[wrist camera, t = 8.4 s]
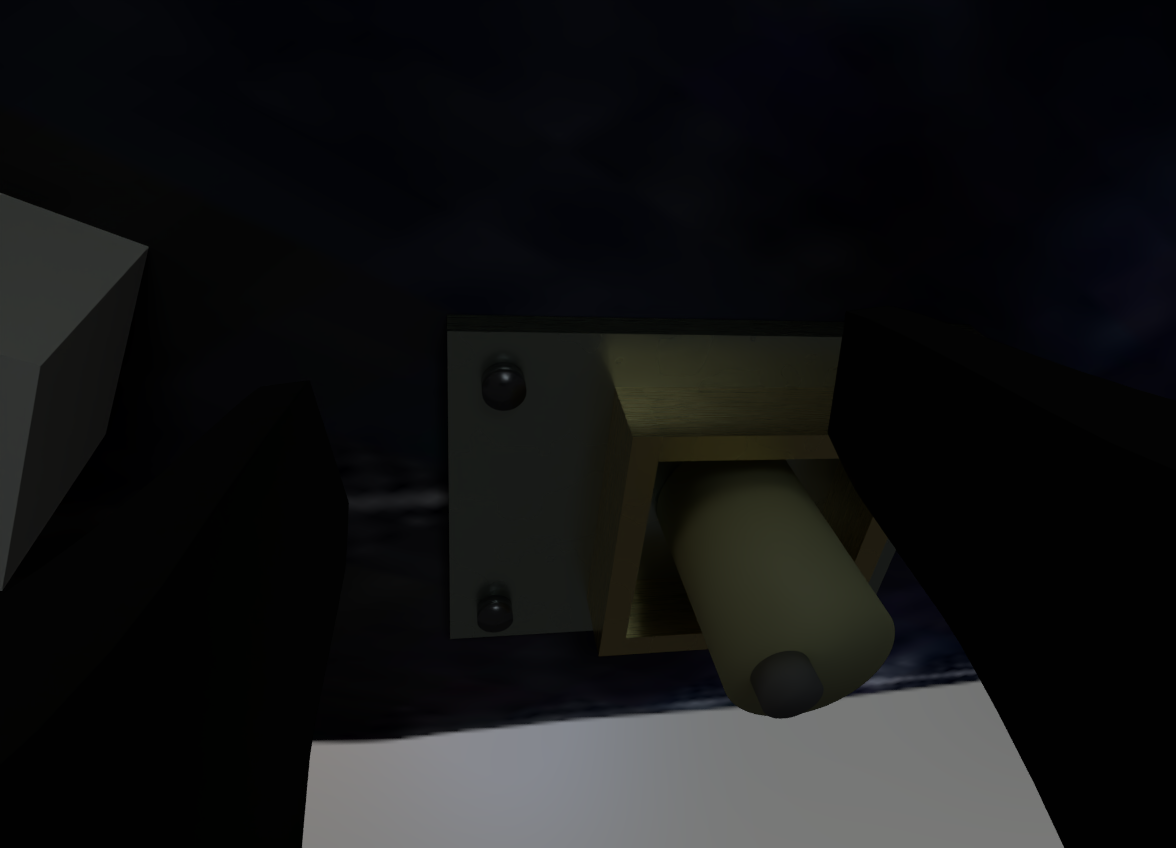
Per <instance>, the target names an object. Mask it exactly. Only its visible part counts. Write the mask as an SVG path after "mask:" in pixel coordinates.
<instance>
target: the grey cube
mask: <svg viewBox="0 0 1176 848" xmlns="http://www.w3.org/2000/svg"><path fill="white" fill-rule="evenodd" d="M148 248H149V247H148V246H145V245H142V244H139V243H137V242H134V241H131V240H128V239H126V238H123V237H120V236H117V235H115V234H112V233H109V232H106V231H104V230H101V229H98V228H95V227H93V226H90V225H87V224H84V223H82V222H79V221H76V220H73V219H70V218H68V217H65V216H62V215H59V214H57V213H54V212H51V211H48V210H46V209H43V208H40V207H37V206H35V205H32V204H29V203H26V202H24V201H21V200H18V199H15V198H13V197H10V196H7V195H4V194H2V193H0V591H2V590H3V589H4V587H5V586H6V584H7V583H8V581H9V579H10V578H11V576H12V575H13V573H14V572H15V570H16V569H17V567H18V566H19V564H20V563H21V561H22V560H23V558H24V557H25V555H26V554H27V552H28V551H29V549H30V548H31V546H32V545H33V543H34V542H35V540H36V539H37V537H38V536H39V534H40V533H41V531H42V530H43V528H44V527H45V525H46V524H47V522H48V521H49V519H50V518H51V516H52V515H53V513H54V512H55V510H56V509H57V507H58V505H59V504H60V502H61V501H62V499H63V498H64V496H65V495H66V493H67V492H68V490H69V489H70V487H71V486H72V484H73V483H74V481H75V480H76V478H77V477H78V475H79V474H80V472H81V471H82V469H83V468H84V466H85V465H86V463H87V462H88V460H89V459H90V457H91V456H92V454H93V453H94V451H95V450H96V448H97V447H98V445H99V444H100V442H101V441H102V439H103V438H104V436H105V435H106V431H107V426H108V422H109V418H110V413H111V409H112V405H113V400H114V396H115V391H116V387H117V383H118V378H119V374H120V370H121V365H122V361H123V357H124V352H125V348H126V344H127V339H128V335H129V331H130V326H131V322H132V318H133V313H134V309H135V305H136V300H137V296H138V292H139V287H140V283H141V279H142V274H143V270H144V266H145V261H146V257H147V253H148Z"/></svg>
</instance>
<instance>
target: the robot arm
mask: <svg viewBox="0 0 1176 848" xmlns="http://www.w3.org/2000/svg"><path fill="white" fill-rule="evenodd" d="M827 433H828V436H829V438H830V440H831V442H832V444H833V446H834V448H835V451H836V453H837V455H838V457H839V459H840V461H841V464H842V466H843V467H844V469H845V471H846V473H847V475H848V477H849V479H850V481H851V483H852V485H853V487H854V489H855V491H856V492H857V494H858V495H859V497H860V498H861V500H862V501H863V503H864V504H865V506H866V507H867V508H868V510H869V511H870V513H871V514H872V516H873V517H874V519H875V520H876V522H877V523H878V524H879V526H880V527H881V529H882V530H883V532H884V533H885V535H886V536H887V538H888V539H889V540H890V542H891V543H892V545H893V546H894V547H895V549H896V550H897V552H898V553H899V555H900V556H901V557H902V559H903V560H904V562H905V563H906V565H907V566H908V567H909V569H910V570H911V572H912V573H913V574H914V576H915V577H916V579H917V580H918V582H919V583H920V584H921V586H922V587H923V589H924V590H925V592H926V593H927V594H928V596H929V597H930V599H931V600H932V602H933V603H934V604H935V606H936V607H937V609H938V610H939V611H940V613H941V614H942V616H943V618H944V619H945V621H946V622H947V624H948V625H949V627H950V628H951V630H952V632H953V633H954V635H955V636H956V638H957V639H958V641H959V643H960V644H961V646H962V648H963V650H964V651H965V653H966V655H967V657H968V659H969V661H970V662H971V664H972V666H973V668H974V670H975V671H976V673H977V675H978V677H979V679H980V681H981V682H982V684H983V686H984V688H985V690H986V691H987V693H988V695H989V697H990V699H991V701H992V702H993V704H994V706H995V708H996V710H997V712H998V714H999V715H1000V717H1001V719H1002V721H1003V723H1004V725H1005V727H1006V729H1007V731H1008V733H1009V735H1010V737H1011V739H1012V741H1013V743H1014V745H1015V747H1016V749H1017V751H1018V753H1019V755H1020V756H1021V759H1022V761H1023V762H1024V764H1025V766H1026V768H1027V770H1028V772H1029V774H1030V776H1031V778H1032V780H1033V782H1034V784H1035V786H1036V788H1037V790H1038V792H1039V795H1040V797H1041V799H1042V801H1043V803H1044V805H1045V808H1046V810H1047V812H1048V814H1049V816H1050V818H1051V820H1052V823H1053V825H1054V827H1055V829H1056V831H1057V833H1058V835H1059V838H1060V840H1061V842H1062V844H1063V846H1064V848H1176V401H1175V400H1171V399H1168V398H1164V397H1161V396H1157V395H1154V394H1150V393H1147V392H1143V391H1140V390H1137V389H1133V388H1130V387H1127V386H1124V385H1121V384H1118V383H1115V382H1112V381H1109V380H1105V379H1102V378H1099V377H1096V376H1093V375H1090V374H1087V373H1084V372H1081V371H1078V370H1075V369H1072V368H1069V367H1066V366H1063V365H1060V364H1057V363H1054V362H1052V361H1049V360H1046V359H1043V358H1040V357H1038V356H1035V355H1032V354H1029V353H1027V352H1024V351H1021V350H1018V349H1016V348H1013V347H1010V346H1007V345H1005V344H1002V343H999V342H997V341H994V340H991V339H989V338H986V337H983V336H981V335H978V334H975V333H972V332H970V331H967V330H964V329H962V328H959V327H956V326H953V325H951V324H948V323H945V322H942V321H939V320H936V319H933V318H930V317H928V316H925V315H921V314H918V313H915V312H912V311H908V310H905V309H901V308H896V307H892V306H883V307H875V308H868V309H860V310H852V311H846V315H845V321H844V328H843V334H842V341H841V348H840V354H839V361H838V367H837V374H836V380H835V387H834V393H833V400H832V406H831V413H830V419H829V426H828V432H827ZM348 505H349V502H348V499H347V496H346V493H345V490H344V486H343V483H342V480H341V477H340V474H339V471H338V468H337V465H336V462H335V458H334V455H333V452H332V449H331V446H330V443H329V440H328V437H327V434H326V431H325V427H324V424H323V421H322V418H321V415H320V412H319V409H318V406H317V403H316V399H315V396H314V393H313V390H312V387H311V384H310V381H301V382H294V383H286V384H278V385H270V386H263V387H260V388H258V389H257V390H256V391H254V392H253V393H251V394H250V395H249V396H248V397H246V398H245V399H244V400H243V401H242V402H240V403H239V404H238V405H237V406H236V407H235V408H234V409H232V410H231V411H230V412H229V413H228V414H227V415H226V416H224V417H223V418H222V419H221V420H220V421H219V422H218V423H217V424H216V425H214V426H213V427H212V428H211V429H210V430H209V431H208V432H207V433H206V434H205V435H203V436H202V437H201V438H200V439H199V440H198V441H197V442H196V443H194V444H193V445H192V446H191V447H190V448H189V449H188V450H187V451H185V452H184V453H183V454H182V455H181V456H180V457H179V458H178V459H176V460H175V461H174V462H173V463H172V464H171V465H170V466H169V467H167V468H166V469H165V470H164V471H163V472H162V473H161V474H160V475H158V476H157V477H156V478H155V479H154V480H153V481H151V482H150V483H149V484H148V485H146V486H145V487H144V488H143V489H141V490H140V491H139V492H138V493H137V494H135V495H134V496H133V497H132V498H130V499H129V500H128V501H127V502H126V503H124V504H123V505H122V506H121V507H119V508H118V509H117V510H116V511H114V512H113V513H112V514H111V515H110V516H108V517H107V518H106V519H105V520H103V521H102V522H101V523H100V524H99V525H97V526H96V527H95V528H94V529H92V530H91V531H90V532H89V533H87V534H86V535H85V536H83V537H82V538H81V539H79V540H78V541H77V542H76V543H74V544H73V545H72V546H70V547H69V548H68V549H66V550H65V551H63V552H62V553H61V554H59V555H58V556H57V557H55V558H54V559H52V560H51V561H50V562H48V563H47V564H46V565H44V566H43V567H41V568H40V569H38V570H37V571H35V572H34V573H32V574H31V575H30V576H28V577H27V578H25V579H24V580H22V581H21V582H19V583H18V584H16V585H15V586H14V587H12V588H11V589H9V590H8V591H6V592H5V593H3V594H2V595H0V848H302V839H303V827H304V815H305V805H306V794H307V781H308V771H309V760H310V752H311V746H312V739H313V733H314V726H315V720H316V715H317V710H318V705H319V700H320V695H321V690H322V685H323V680H324V675H325V670H326V665H327V660H328V655H329V650H330V645H331V640H332V635H333V630H334V625H335V620H336V615H337V610H338V604H339V599H340V594H341V589H342V583H343V578H344V572H345V566H346V550H347V532H348Z"/></svg>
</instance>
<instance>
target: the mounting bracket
mask: <svg viewBox="0 0 1176 848" xmlns="http://www.w3.org/2000/svg"><path fill="white" fill-rule="evenodd" d="M951 325H953V326H956V327H959V328H962V329H964V330H967V331H970V332H972V333H975V334H978V335H981V336H983V335H982V334H981V333H979V332H978V331H977V330H975V329H974V328H973V327H972V326H970V325H968V324H951ZM843 328H844V322H811V321H758V320H706V319H653V318H601V317H548V316H496V315H447V354H448V459H449V565H450V639H458V638H475V637H491V636H508V635H525V634H542V633H559V632H576V631H594V636H595V641H596V646H597V651H598V656H611V655H626V654H642V653H657V652H672V651H687V650H702V649H708V646H707V644H706V641H705V639H704V636H703V634H702V631H701V629H700V626H699V623H698V621H697V618H696V616H695V613H694V611H693V608H692V606H691V603H690V600H689V598H688V595H687V593H686V590H685V588H684V585H683V582H682V580H681V577H680V575H679V572H678V570H677V567H676V565H675V562H674V559H673V557H672V554H671V552H670V549H669V547H668V544H667V541H666V539H665V536H664V534H663V531H662V529H661V526H660V523H659V521H658V516H657V503H658V498H659V495H660V492H661V490H662V487H663V485H664V484H665V482H666V480H667V479H668V477H669V476H670V475H671V474H672V472H673V471H674V470H675V469H676V468H677V467H678V466H679V465H680V464H681V463H683V462H684V461H721V460H779V459H785V460H786V461H787V463H788V464H789V466H790V467H791V469H792V470H793V472H794V473H795V475H796V476H797V478H798V479H799V481H800V482H801V484H802V485H803V487H804V488H805V490H806V491H807V493H808V494H809V495H810V497H811V498H812V500H813V501H814V503H815V504H816V506H817V507H818V509H819V510H820V512H821V513H822V515H823V516H824V518H825V519H826V521H827V522H828V524H829V525H830V527H831V528H832V530H833V531H834V533H835V534H836V536H837V537H838V539H839V540H840V542H841V543H842V545H843V546H844V548H845V549H846V551H847V552H848V554H849V555H850V557H851V558H852V560H853V561H854V563H855V564H856V566H857V567H858V569H859V570H860V572H861V573H862V575H863V576H864V577H865V579H866V580H867V582H868V583H869V585H870V586H871V588H872V589H873V591H874V592H875V594H877V592H878V589H879V587H880V585H881V583H882V580H883V578H884V576H885V573H886V571H887V569H888V567H889V564H890V562H891V560H892V557H893V555H894V553H895V551H896V549H895V547H894V546H893V545H892V543H891V542H890V540H889V539H888V538H887V536H886V535H885V533H884V532H883V530H882V529H881V527H880V526H879V524H878V523H877V522H876V520H875V519H874V517H873V516H872V514H871V513H870V511H869V510H868V508H867V507H866V506H865V504H864V503H863V501H862V500H861V498H860V497H859V495H858V494H857V492H856V491H855V489H854V487H853V485H852V483H851V481H850V479H849V477H848V475H847V473H846V471H845V469H844V467H843V466H842V464H841V461H840V459H839V457H838V455H837V453H836V451H835V448H834V446H833V444H832V442H831V440H830V438H829V436H828V433H827V432H828V426H829V419H830V413H831V406H832V400H833V393H834V387H835V380H836V374H837V367H838V361H839V354H840V348H841V341H842V334H843ZM983 337H984V336H983Z"/></svg>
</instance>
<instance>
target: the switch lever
mask: <svg viewBox="0 0 1176 848" xmlns="http://www.w3.org/2000/svg"><path fill="white" fill-rule="evenodd" d="M657 516H658V521H659V523H660V526H661V529H662V531H663V534H664V536H665V539H666V541H667V544H668V547H669V549H670V552H671V554H672V557H673V559H674V562H675V565H676V567H677V570H678V572H679V575H680V577H681V580H682V582H683V585H684V588H685V590H686V593H687V595H688V598H689V600H690V603H691V606H692V608H693V611H694V613H695V616H696V618H697V621H698V623H699V626H700V629H701V631H702V634H703V636H704V639H705V641H706V644H707V646H708V649H709V652H710V654H711V657H712V659H713V662H714V664H715V667H716V670H717V672H718V675H719V677H720V680H721V682H722V685H723V687H724V690H725V693H726V695H727V696H728V698H729V699H730V700H731V701H732V702H733V703H734V704H735V705H736V706H738V707H739V708H741V709H743V710H745V711H747V712H750V713H754V714H758V715H764V716H770V717H772V718H789V717H793V716H797V715H799V714H802V713H805V712H809V711H812V710H815V709H818V708H821V707H824V706H827V705H829V704H831V703H833V702H836V701H838V700H839V699H841V698H843V697H845V696H847V695H848V694H850V693H852V692H853V691H855V690H856V689H857V688H859V687H860V686H861V685H863V684H864V683H865V682H866V681H868V680H869V679H870V678H871V677H872V676H873V675H874V674H875V673H876V672H877V671H878V670H879V668H880V667H881V666H882V665H883V663H884V662H885V660H886V659H887V657H888V655H889V653H890V651H891V649H892V646H893V642H894V638H895V628H894V623H893V620H892V618H891V616H890V615H889V613H888V612H887V610H886V609H885V607H884V606H883V604H882V603H881V601H880V600H879V598H878V597H877V595H876V594H875V592H874V591H873V589H872V588H871V586H870V585H869V583H868V582H867V580H866V579H865V577H864V576H863V575H862V573H861V572H860V570H859V569H858V567H857V566H856V564H855V563H854V561H853V560H852V558H851V557H850V555H849V554H848V552H847V551H846V549H845V548H844V546H843V545H842V543H841V542H840V540H839V539H838V537H837V536H836V534H835V533H834V531H833V530H832V528H831V527H830V525H829V524H828V522H827V521H826V519H825V518H824V516H823V515H822V513H821V512H820V510H819V509H818V507H817V506H816V504H815V503H814V501H813V500H812V498H811V497H810V495H809V494H808V493H807V491H806V490H805V488H804V487H803V485H802V484H801V482H800V481H799V479H798V478H797V476H796V475H795V473H794V472H793V470H792V469H791V467H790V466H789V464H788V463H787V461H786V460H785V459H779V460H721V461H684V462H683V463H681V464H680V465H679V466H678V467H677V468H676V469H675V470H674V471H673V472H672V474H671V475H670V476H669V477H668V479H667V480H666V482H665V484H664V485H663V487H662V490H661V492H660V495H659V498H658V503H657Z"/></svg>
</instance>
